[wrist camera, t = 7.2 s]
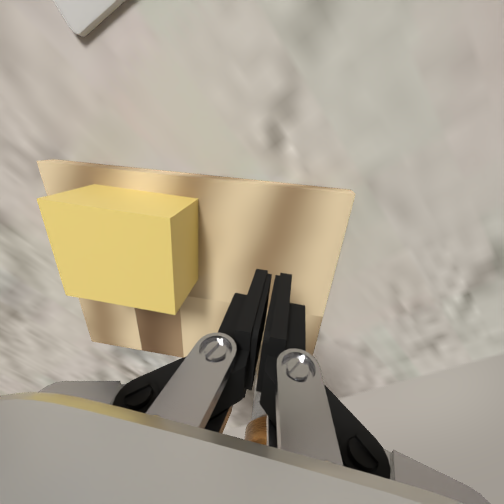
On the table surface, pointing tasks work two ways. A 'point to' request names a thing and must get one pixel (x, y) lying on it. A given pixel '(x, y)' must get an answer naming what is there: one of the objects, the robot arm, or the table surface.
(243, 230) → the subfloor panel
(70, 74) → the table surface
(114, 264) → the yellow rectangular block
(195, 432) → the robot arm
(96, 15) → the smartphone
